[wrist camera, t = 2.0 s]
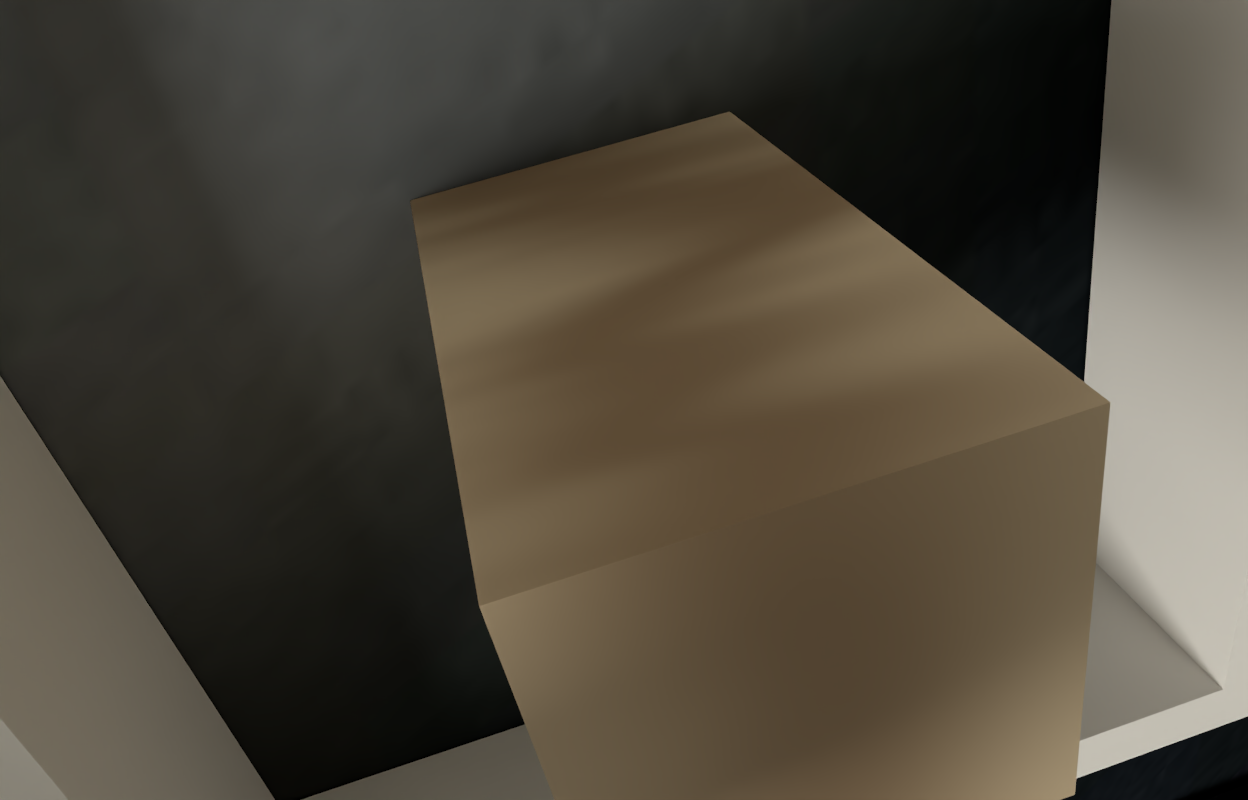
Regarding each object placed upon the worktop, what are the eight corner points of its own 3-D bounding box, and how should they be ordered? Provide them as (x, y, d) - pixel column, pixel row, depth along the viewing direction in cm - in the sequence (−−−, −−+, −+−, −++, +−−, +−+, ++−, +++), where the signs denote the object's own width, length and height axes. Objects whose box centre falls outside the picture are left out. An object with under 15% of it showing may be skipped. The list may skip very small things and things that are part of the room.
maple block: (729, 111, 13) (1110, 401, 7) (767, 382, 16) (1075, 794, 9) (409, 200, 13) (478, 605, 6) (499, 466, 15) (617, 961, 9)
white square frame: (1243, -678, 10) (1669, -911, 7) (1114, 561, 20) (1267, 709, 17) (-574, -302, 9) (-1157, -377, 5) (248, 855, 18) (226, 1087, 15)
